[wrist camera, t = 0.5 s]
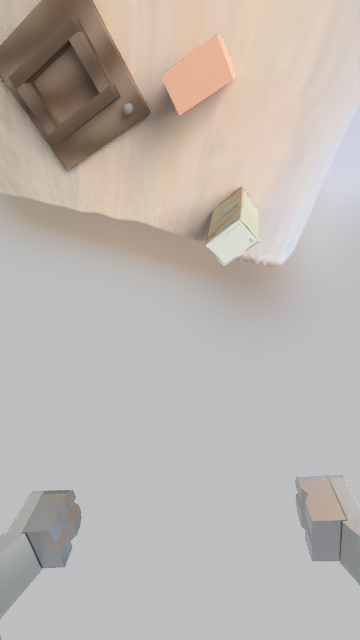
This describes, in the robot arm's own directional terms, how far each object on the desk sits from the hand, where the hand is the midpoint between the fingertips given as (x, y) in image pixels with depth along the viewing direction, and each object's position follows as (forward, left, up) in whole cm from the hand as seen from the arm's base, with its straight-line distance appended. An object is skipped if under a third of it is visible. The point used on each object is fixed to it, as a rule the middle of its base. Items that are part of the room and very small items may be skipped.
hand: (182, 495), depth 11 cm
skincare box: (+7, -3, -48) cm, 48 cm away
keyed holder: (-19, -16, -47) cm, 53 cm away
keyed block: (-11, +1, -47) cm, 49 cm away
